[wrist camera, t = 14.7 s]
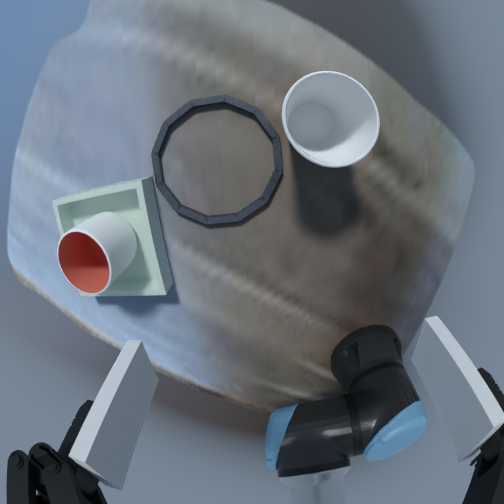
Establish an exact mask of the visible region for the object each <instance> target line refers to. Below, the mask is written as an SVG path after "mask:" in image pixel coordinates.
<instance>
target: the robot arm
mask: <svg viewBox="0 0 504 504" xmlns="http://www.w3.org/2000/svg"><path fill="white" fill-rule="evenodd" d="M411 361H412V362H413V364H414V366H415V368H416V370H417V372H418V374H419V376H420V378H421V379H422V381H423V383H424V385H425V387H426V389H427V391H428V393H429V395H430V397H431V399H432V401H433V403H434V405H435V408H436V410H437V412H438V414H439V416H440V418H441V420H442V423H443V425H444V427H445V429H446V432H447V434H448V436H449V439H450V441H451V443H452V446H453V448H454V451H455V453H456V456H457V458H458V460H459V462H461V461H463V460H465V459H467V458H469V457H471V456H472V455H474V454H475V453H476V451H478V450H479V449H480V450H481V453H480V454H479V455H478V456H477V457H476V458H475V459H474V460H473V461H472V462H471V464H470V465H471V466H472V465H473V464H474V463H475V462H476V461H477V463H476V464H475V470H474V473H473V477H472V480H471V482H470V485H469V488H468V491H467V493H466V496H465V498H464V501H463V503H462V504H504V395H503V393H502V392H501V390H499V387H498V385H497V384H495V381H494V379H493V378H492V376H491V375H490V373H488V372H487V371H486V370H484V369H483V368H479V369H476V368H475V366H474V365H473V363H472V362H471V360H470V359H469V357H468V356H467V355H466V353H465V352H464V351H463V349H462V348H461V346H460V345H459V344H458V342H457V341H456V340H455V338H454V337H453V336H452V334H451V333H450V332H449V330H448V329H447V328H446V327H445V325H444V324H443V323H442V321H441V320H440V319H439V318H438V316H434V317H429V318H425V319H424V323H423V326H422V330H421V333H420V336H419V339H418V342H417V345H416V348H415V352H414V354H413V357H412V360H411ZM331 365H332V369H333V373H334V375H335V376H336V378H337V379H338V380H339V382H340V383H341V384H342V385H343V386H344V388H345V389H346V390H347V391H348V394H346V395H342V396H337V397H333V398H328V399H323V400H318V401H313V402H308V403H302V404H300V403H297V404H295V405H292V406H287V407H281V408H278V409H276V410H275V411H274V412H273V413H272V414H271V416H270V419H269V422H268V427H267V433H266V456H267V466H268V468H269V469H271V470H274V471H277V470H278V477H279V480H281V481H282V482H284V483H285V484H286V485H287V486H288V487H289V493H290V504H346V502H345V494H344V485H343V477H344V475H345V474H346V473H347V471H348V470H349V468H350V460H349V458H350V457H353V456H357V455H361V454H363V457H364V458H365V459H366V460H367V461H379V460H382V459H385V458H388V457H390V456H392V455H394V454H396V453H398V452H400V451H401V450H403V449H405V448H406V447H408V446H409V445H410V444H412V443H413V442H414V441H415V440H416V439H417V438H418V437H419V436H420V435H421V434H422V433H423V431H424V429H425V428H426V425H427V416H426V414H425V411H424V408H423V403H422V401H421V400H420V398H419V396H418V394H417V392H416V390H415V388H414V386H413V384H412V382H411V380H410V378H409V376H408V374H407V372H406V370H405V368H404V366H403V356H402V345H401V342H400V340H399V338H398V336H397V334H396V333H395V331H394V330H392V329H391V328H389V327H387V326H382V325H373V326H367V327H364V328H361V329H358V330H356V331H354V332H352V333H351V334H349V335H348V336H346V337H345V338H344V339H343V340H342V341H341V342H340V343H339V344H338V345H337V346H336V348H335V349H334V351H333V353H332V356H331ZM157 383H158V378H157V376H156V373H155V371H154V369H153V367H152V365H151V362H150V360H149V358H148V355H147V353H146V351H145V348H144V346H143V344H142V341H134V340H127V342H126V344H125V345H124V347H123V349H122V351H121V353H120V354H119V356H118V358H117V360H116V362H115V363H114V365H113V367H112V369H111V371H110V373H109V374H108V376H107V378H106V380H105V382H104V384H103V386H102V388H101V390H100V391H99V393H98V395H97V397H96V399H95V401H91V400H87V401H86V402H85V403H84V404H83V405H82V406H81V407H80V409H79V410H78V412H77V414H76V416H75V417H76V418H75V419H74V420H73V422H72V426H70V428H69V430H68V432H67V434H66V436H65V439H64V440H63V442H62V444H61V447H60V449H59V450H58V452H56V451H55V450H54V449H52V447H51V446H49V445H48V444H46V443H43V442H42V443H37V444H35V445H34V446H33V447H32V448H31V449H30V451H29V454H28V455H27V454H25V453H24V452H23V451H21V450H16V451H14V452H12V453H11V455H10V456H9V459H8V467H7V504H107V502H106V500H105V498H104V496H103V493H102V491H101V489H100V487H99V486H98V482H99V481H101V482H102V483H103V484H105V485H106V486H109V487H112V488H115V489H119V490H122V488H123V485H124V481H125V478H126V475H127V472H128V469H129V465H130V462H131V459H132V456H133V453H134V450H135V447H136V443H137V441H138V438H139V434H140V432H141V429H142V426H143V423H144V420H145V417H146V414H147V411H148V408H149V406H150V403H151V400H152V397H153V394H154V392H155V389H156V386H157ZM36 490H37V491H38V495H36Z"/></svg>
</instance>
